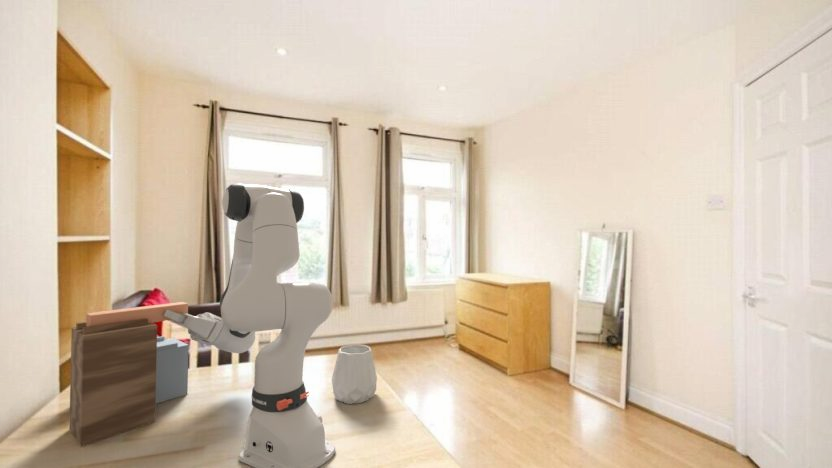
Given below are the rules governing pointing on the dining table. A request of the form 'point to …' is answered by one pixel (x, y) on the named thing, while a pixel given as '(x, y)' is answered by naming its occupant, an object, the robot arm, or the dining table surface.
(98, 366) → the stand
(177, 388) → the step
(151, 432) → the dining table surface
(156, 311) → the baton
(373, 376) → the vase
